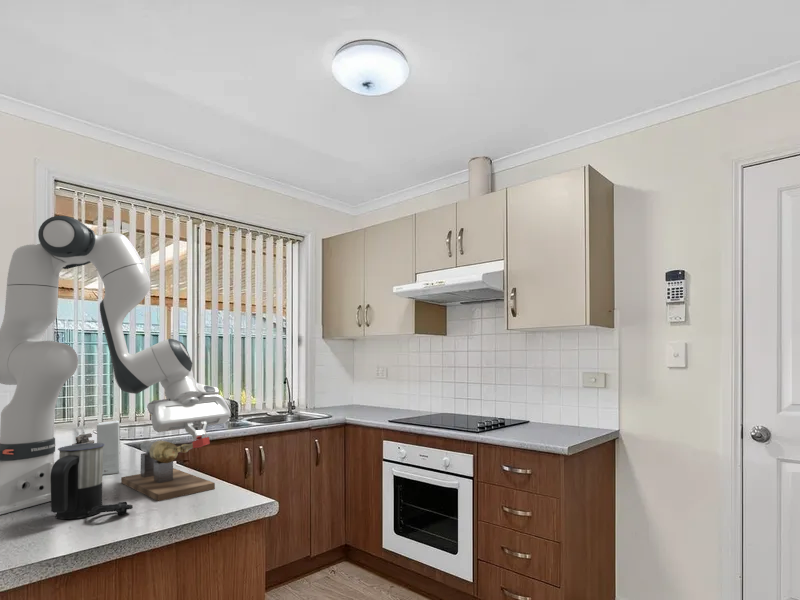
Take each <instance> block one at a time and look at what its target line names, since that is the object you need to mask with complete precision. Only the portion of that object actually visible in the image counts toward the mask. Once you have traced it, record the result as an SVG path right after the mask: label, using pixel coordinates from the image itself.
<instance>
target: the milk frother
mask: <svg viewBox="0 0 800 600" xmlns="http://www.w3.org/2000/svg"><path fill="white" fill-rule="evenodd" d="M104 445H105V444H103V443H97V442H94V443H86V444H76V445H72V444H69V445H65V446H62V447H61V446H60V447H59V448H57V451H59V457H58V459H57V460H56V461H54V465H53V467H52V470H51V501H50V504H51V505H50V509H51V512H52V513H53V514H55V518H57V519H59V520H75V519H82V518H87V517H90V516H91V517H92V516H94V515H97V514H99V513H111V512H116V513H117V516H118V515H120V516H121V515H125V514H126V513H127V511H128V510H132V509H133V505H132V504H128V502H127V501H121V502H117V503H115V504H114V503H112V504H103V475H102V471H103V446H104Z"/></svg>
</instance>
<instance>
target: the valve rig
mask: <svg viewBox="0 0 800 600" xmlns="http://www.w3.org/2000/svg"><path fill="white" fill-rule="evenodd" d="M140 449H141V451H142V452H143V453H140V473H138V474H137V473H136V474H132V475H126V476H122V477H120V481H121V484H123V485H124V486H127V487H129V488H131V489H133V490H134V491H136V492H139V493H141V494H143V495H145V496H147V497H149V498H150V499H152V500H155V501H157V502H160V501H167V500H171V499H175V498H179V497H184V496H188V495H193V494H197V493H202V492H208V491H211V490H215V488H216V486H215V485H216V484H215V482H213V481H210V480H207V479H205V478H203V477H200V476H197V475H193V474H191V473H187V472H185V471H183V470H180V469H178V468H175V467H174V460H176V458H177V457H178V455H179V454H178V453H182V446H181V445H179V446H177V445H176V444H174V443H172V442H169V441H166V440H157V441H155V442H154V441H150V440H145V441H143V442H141V444H140Z"/></svg>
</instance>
